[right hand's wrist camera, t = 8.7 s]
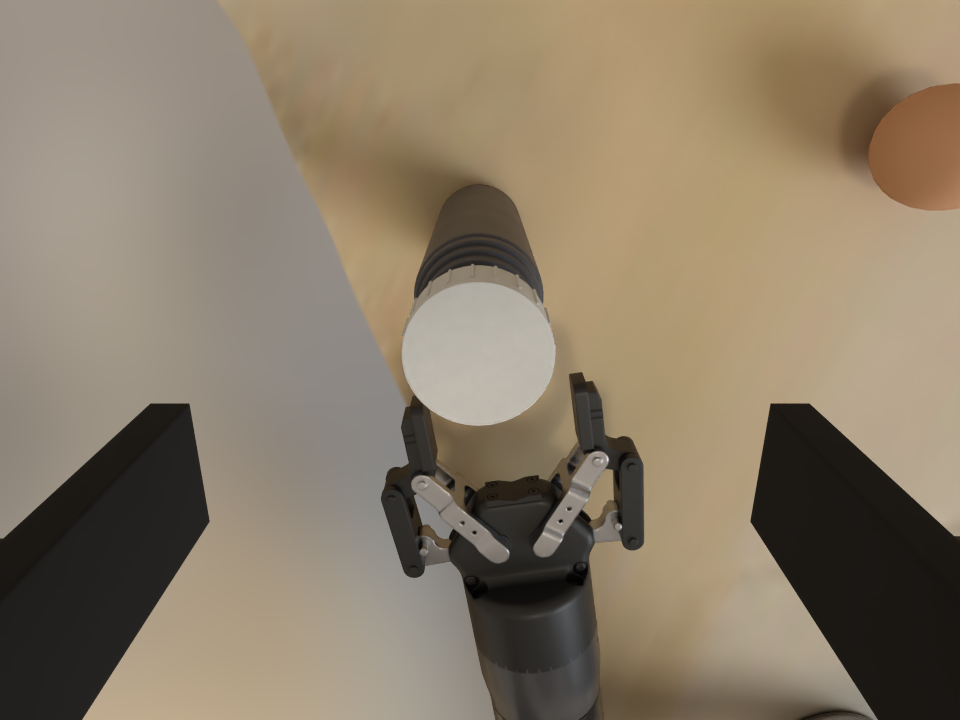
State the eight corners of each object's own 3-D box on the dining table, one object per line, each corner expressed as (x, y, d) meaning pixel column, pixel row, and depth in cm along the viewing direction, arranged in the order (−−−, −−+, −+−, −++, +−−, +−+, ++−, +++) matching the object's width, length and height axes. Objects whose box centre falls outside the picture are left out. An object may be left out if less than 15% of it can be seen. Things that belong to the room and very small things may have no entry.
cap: (378, 341, 21) (367, 364, 19) (470, 232, 20) (468, 246, 18) (486, 424, 22) (486, 454, 20) (579, 326, 21) (589, 349, 19)
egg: (965, 82, 36) (1091, 77, 28) (943, 197, 38) (1054, 220, 30) (851, 88, 36) (947, 85, 28) (835, 202, 38) (921, 226, 31)
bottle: (421, 231, 39) (362, 360, 20) (474, 166, 37) (468, 235, 18) (483, 283, 40) (486, 454, 21) (537, 222, 39) (595, 343, 19)
